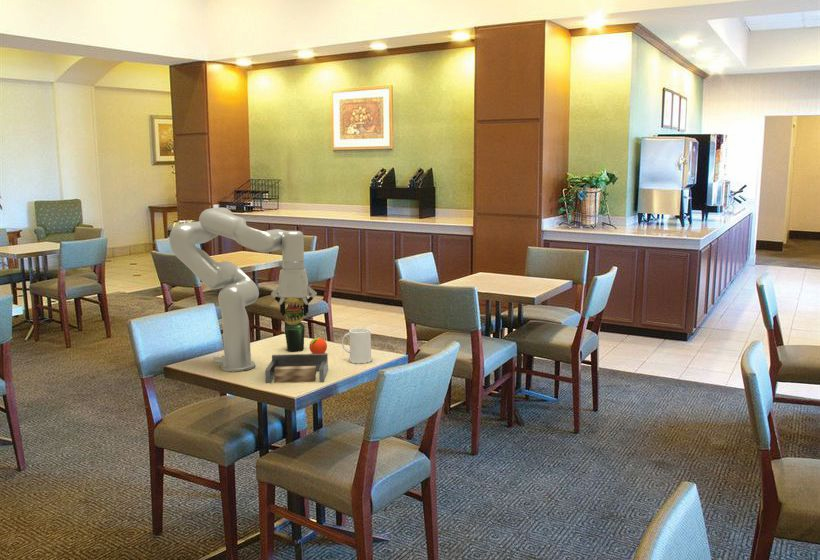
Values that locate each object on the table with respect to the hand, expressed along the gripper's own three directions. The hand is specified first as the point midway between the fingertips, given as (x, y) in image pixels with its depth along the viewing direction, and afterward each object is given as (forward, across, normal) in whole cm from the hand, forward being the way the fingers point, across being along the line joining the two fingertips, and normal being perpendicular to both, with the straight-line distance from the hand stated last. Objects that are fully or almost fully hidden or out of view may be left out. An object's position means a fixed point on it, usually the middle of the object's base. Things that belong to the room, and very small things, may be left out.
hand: (294, 314), depth 249 cm
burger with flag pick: (+4, 0, 0) cm, 4 cm away
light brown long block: (+21, +2, -11) cm, 24 cm away
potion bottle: (+22, -6, +32) cm, 39 cm away
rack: (+21, +2, -5) cm, 22 cm away
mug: (+21, +21, +14) cm, 33 cm away
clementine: (+22, +5, +23) cm, 32 cm away
